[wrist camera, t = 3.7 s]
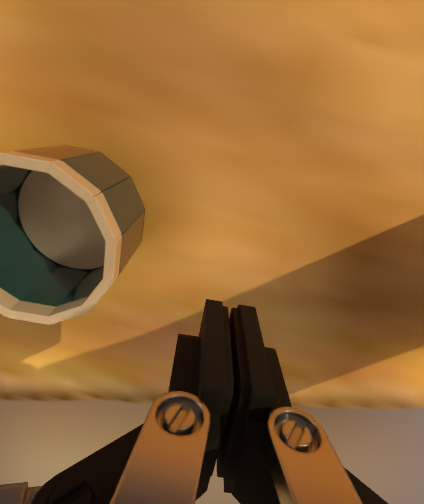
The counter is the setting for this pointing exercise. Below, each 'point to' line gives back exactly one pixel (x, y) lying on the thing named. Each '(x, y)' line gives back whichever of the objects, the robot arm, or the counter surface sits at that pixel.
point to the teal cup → (63, 231)
